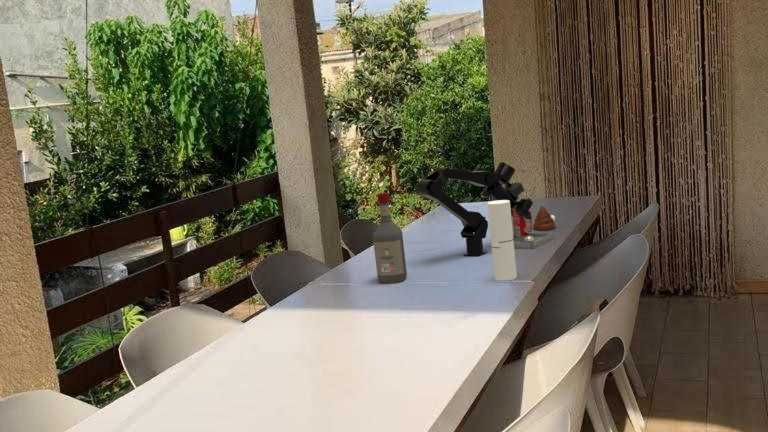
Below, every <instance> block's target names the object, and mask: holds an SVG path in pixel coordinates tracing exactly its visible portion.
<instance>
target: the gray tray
mask: <svg viewBox="0 0 768 432" xmlns="http://www.w3.org/2000/svg"><path fill="white" fill-rule="evenodd" d="M554 234H555V233H554V232H532V234H531V235H530V236H532V237H533V238H534V242H533V243H525V241H524V239H525V237H517V236H516V235H514V233H513V241H514V249H525V250H527V249H529V250H533V249H535V248H538V247H539V246H541V245H543V244H545V243H547V242H549V241H551V240H553V239H555V235H554Z"/></svg>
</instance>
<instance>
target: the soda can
mask: <svg viewBox="0 0 768 432" xmlns="http://www.w3.org/2000/svg"><path fill="white" fill-rule="evenodd" d="M529 212H530V214H531V215H532V208H530V209H529ZM517 214H518V213H517V212H516V207H514V208H513V217H512V230H513V234H514V235H516V236H517V237H526V236H528V235H531V234H532V233H533V222H532V219H533V217H532V218H531V220H529V219H527V218H524V217H522V216H519V215H517Z"/></svg>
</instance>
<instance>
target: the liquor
mask: <svg viewBox="0 0 768 432" xmlns="http://www.w3.org/2000/svg"><path fill="white" fill-rule="evenodd" d="M389 199H390V195H389V193H388V192H380V193H377V200H378V202H377V203H378V206H379V214H380V220H379V221H380V222H379V224H378V226H377V227H376V229H375V231H374V232H373V233H372V240H373V241H372V243H373V251H374V257H375V266H376V267H375V268H376V274H377V281H378V282H379V284H383V285H385V284H399V283H403V282H404V281H405V280H406V279H407V277H408V272H407V270H408V269H407V265H406V264H407V263H406V253H405V246H404V245H405V244H404V238H403V237H404V236H403V231H402V228H401V227H399V226H398V225H397V224H396V223H395V222H394V221H393V220H392V217H391V211H390V200H389Z"/></svg>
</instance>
